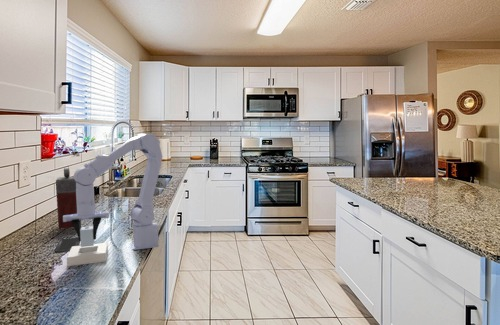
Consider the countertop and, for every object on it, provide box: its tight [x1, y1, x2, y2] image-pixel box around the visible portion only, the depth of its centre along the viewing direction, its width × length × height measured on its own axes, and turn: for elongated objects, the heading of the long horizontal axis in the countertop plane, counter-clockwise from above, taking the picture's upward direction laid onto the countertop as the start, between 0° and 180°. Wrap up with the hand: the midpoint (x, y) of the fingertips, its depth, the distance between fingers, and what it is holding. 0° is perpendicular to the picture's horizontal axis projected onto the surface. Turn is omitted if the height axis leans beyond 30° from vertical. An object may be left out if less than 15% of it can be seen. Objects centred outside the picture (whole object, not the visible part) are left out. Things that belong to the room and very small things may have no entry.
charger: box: [80, 225, 95, 247], centre depth 121 cm, size 4×4×6 cm
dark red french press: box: [55, 167, 77, 230], centre depth 164 cm, size 9×11×28 cm
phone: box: [54, 237, 81, 253], centre depth 136 cm, size 8×1×15 cm
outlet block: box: [66, 242, 109, 267], centre depth 122 cm, size 12×12×3 cm
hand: (87, 239), depth 121 cm, fingers closed on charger, 4 cm apart
